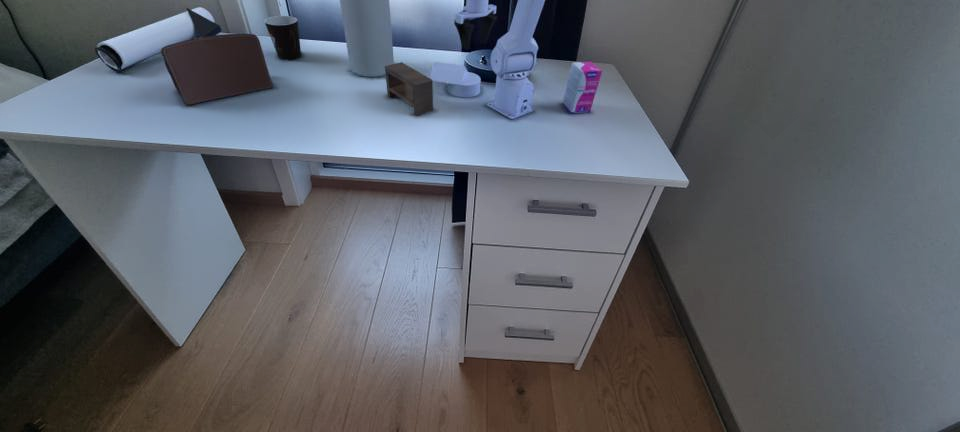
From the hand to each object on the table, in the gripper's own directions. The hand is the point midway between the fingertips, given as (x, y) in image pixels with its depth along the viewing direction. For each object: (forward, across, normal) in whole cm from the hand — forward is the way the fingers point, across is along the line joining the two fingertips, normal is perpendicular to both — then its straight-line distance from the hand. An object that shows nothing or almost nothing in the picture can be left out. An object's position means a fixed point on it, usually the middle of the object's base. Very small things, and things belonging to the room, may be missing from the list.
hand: (474, 45), depth 110 cm
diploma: (+10, +53, -67) cm, 86 cm away
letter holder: (+9, +54, -36) cm, 65 cm away
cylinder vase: (+10, +18, -23) cm, 31 cm away
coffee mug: (+10, +32, -45) cm, 55 cm away
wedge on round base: (+9, +10, +3) cm, 14 cm away
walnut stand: (+9, +25, +1) cm, 27 cm away
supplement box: (+8, -5, +32) cm, 34 cm away
